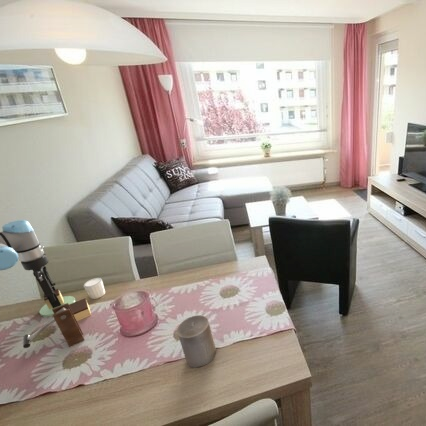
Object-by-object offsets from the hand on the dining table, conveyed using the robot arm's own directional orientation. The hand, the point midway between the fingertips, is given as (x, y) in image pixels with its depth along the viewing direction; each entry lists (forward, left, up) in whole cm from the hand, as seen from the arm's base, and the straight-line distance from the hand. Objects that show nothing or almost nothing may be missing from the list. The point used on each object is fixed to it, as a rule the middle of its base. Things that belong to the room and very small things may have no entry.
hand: (56, 303), depth 126 cm
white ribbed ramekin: (+14, -3, -2) cm, 15 cm away
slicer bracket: (+4, -31, -2) cm, 31 cm away
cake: (+6, -15, -2) cm, 16 cm away
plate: (0, 0, -2) cm, 2 cm away
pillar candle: (+35, -70, -2) cm, 78 cm away
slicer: (-1, -31, +8) cm, 32 cm away
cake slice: (0, 0, 0) cm, 0 cm away
